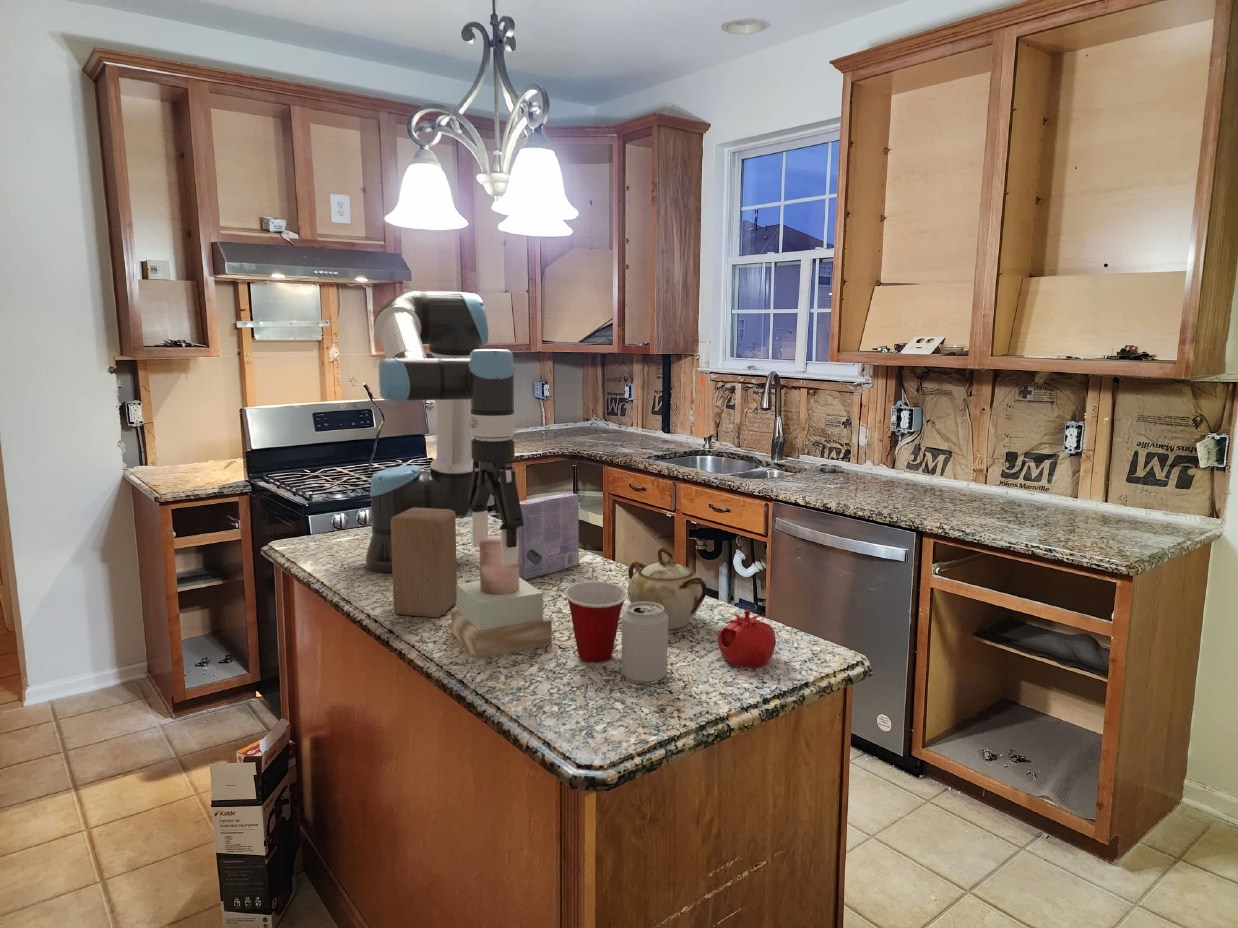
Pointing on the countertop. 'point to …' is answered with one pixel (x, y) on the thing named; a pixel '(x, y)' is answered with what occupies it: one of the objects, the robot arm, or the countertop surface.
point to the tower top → (499, 605)
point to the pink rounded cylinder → (496, 568)
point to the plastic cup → (595, 617)
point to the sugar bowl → (667, 588)
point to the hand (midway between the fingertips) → (494, 554)
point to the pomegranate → (747, 641)
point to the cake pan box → (548, 535)
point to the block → (424, 561)
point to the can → (644, 642)
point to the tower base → (501, 636)
